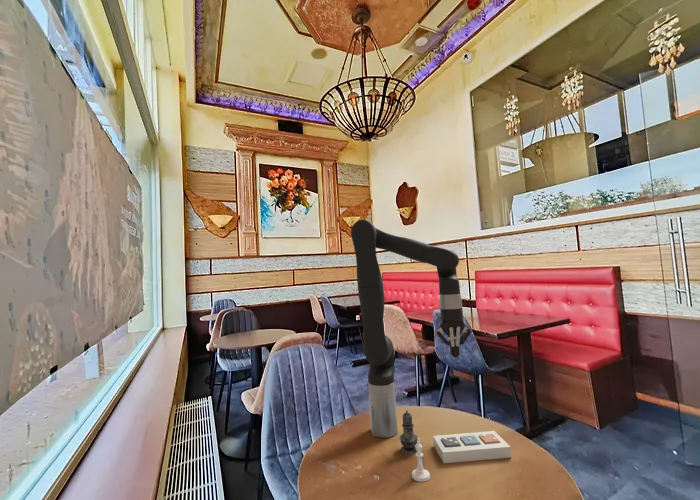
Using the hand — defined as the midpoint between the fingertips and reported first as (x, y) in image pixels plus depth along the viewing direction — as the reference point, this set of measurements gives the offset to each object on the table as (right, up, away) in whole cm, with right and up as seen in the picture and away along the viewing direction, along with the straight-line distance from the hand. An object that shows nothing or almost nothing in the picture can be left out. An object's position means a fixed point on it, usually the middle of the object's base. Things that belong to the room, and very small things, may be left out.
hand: (455, 356), depth 116 cm
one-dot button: (0, -23, -15) cm, 27 cm away
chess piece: (-17, -24, -26) cm, 40 cm away
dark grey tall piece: (-18, -26, -12) cm, 33 cm away
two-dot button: (+6, -23, -15) cm, 28 cm away
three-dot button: (-6, -23, -15) cm, 28 cm away
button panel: (0, -24, -15) cm, 28 cm away
